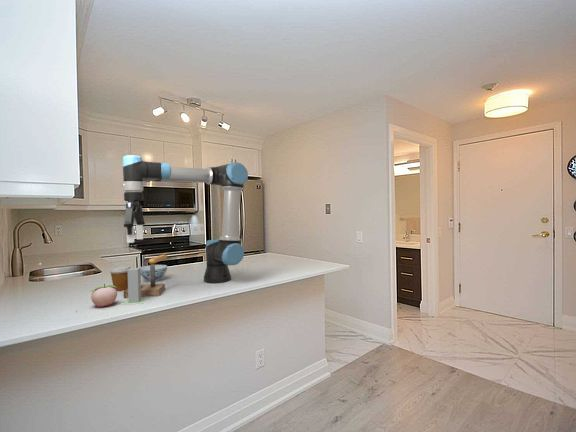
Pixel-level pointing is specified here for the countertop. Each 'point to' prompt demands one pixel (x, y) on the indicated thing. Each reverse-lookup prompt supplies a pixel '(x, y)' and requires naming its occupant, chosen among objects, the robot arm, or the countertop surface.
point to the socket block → (150, 286)
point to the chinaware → (159, 272)
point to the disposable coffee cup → (120, 277)
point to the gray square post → (134, 285)
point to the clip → (157, 258)
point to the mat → (135, 302)
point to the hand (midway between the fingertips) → (135, 240)
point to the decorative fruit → (104, 295)
